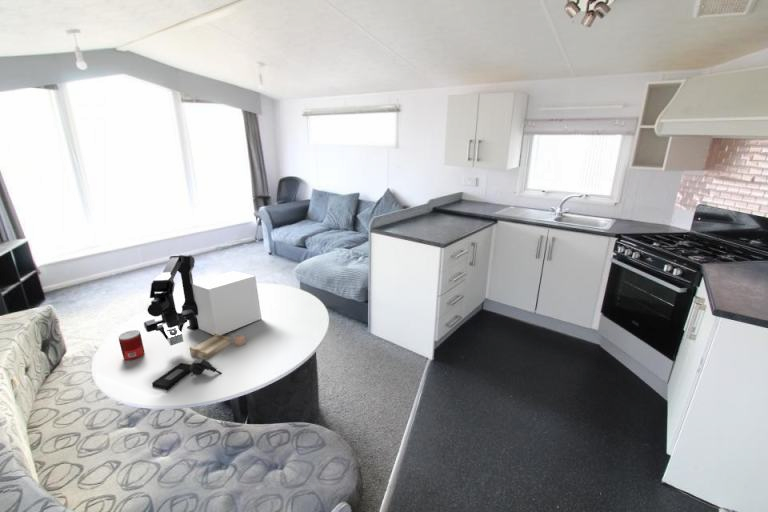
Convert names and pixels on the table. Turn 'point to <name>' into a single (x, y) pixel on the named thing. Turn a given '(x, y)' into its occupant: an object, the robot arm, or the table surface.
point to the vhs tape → (172, 376)
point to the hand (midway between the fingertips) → (173, 336)
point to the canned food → (131, 345)
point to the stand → (210, 346)
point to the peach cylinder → (239, 340)
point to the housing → (173, 335)
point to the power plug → (201, 367)
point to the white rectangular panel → (226, 302)
